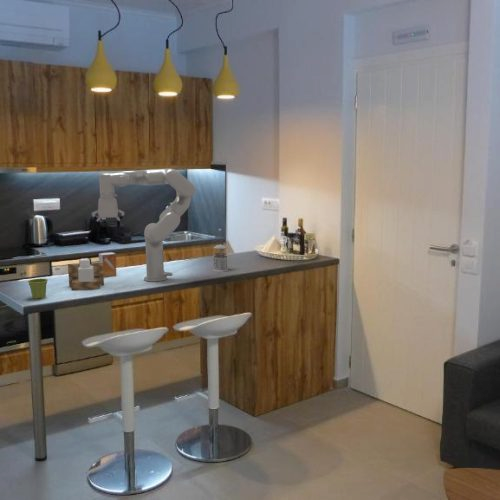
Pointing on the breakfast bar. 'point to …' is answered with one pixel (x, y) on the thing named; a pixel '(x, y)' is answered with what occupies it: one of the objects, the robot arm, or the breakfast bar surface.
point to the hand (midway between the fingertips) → (108, 228)
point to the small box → (108, 263)
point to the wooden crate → (85, 285)
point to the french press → (220, 259)
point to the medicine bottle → (85, 270)
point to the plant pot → (38, 288)
